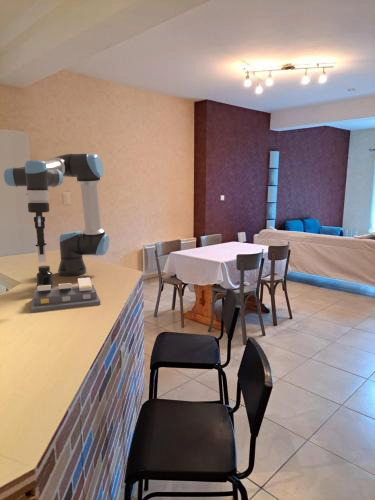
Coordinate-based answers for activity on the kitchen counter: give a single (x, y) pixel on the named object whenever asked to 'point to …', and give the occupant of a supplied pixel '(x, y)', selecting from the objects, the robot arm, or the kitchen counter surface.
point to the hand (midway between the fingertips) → (42, 262)
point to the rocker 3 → (84, 284)
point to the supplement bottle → (44, 276)
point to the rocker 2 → (65, 285)
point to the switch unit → (63, 299)
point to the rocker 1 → (44, 287)
